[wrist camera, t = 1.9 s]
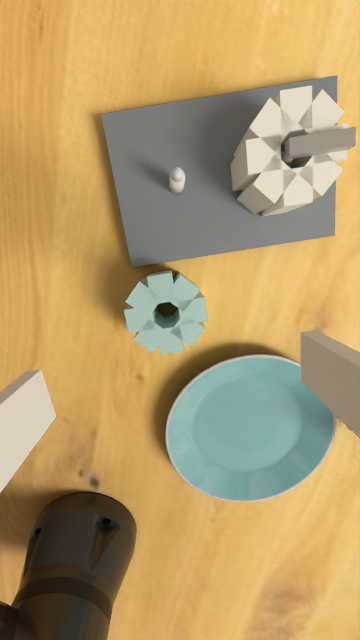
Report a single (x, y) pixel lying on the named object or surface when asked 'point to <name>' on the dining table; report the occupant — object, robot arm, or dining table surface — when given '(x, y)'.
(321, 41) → the dining table surface
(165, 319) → the teal gear
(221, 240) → the gear board
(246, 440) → the plate
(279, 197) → the gear
